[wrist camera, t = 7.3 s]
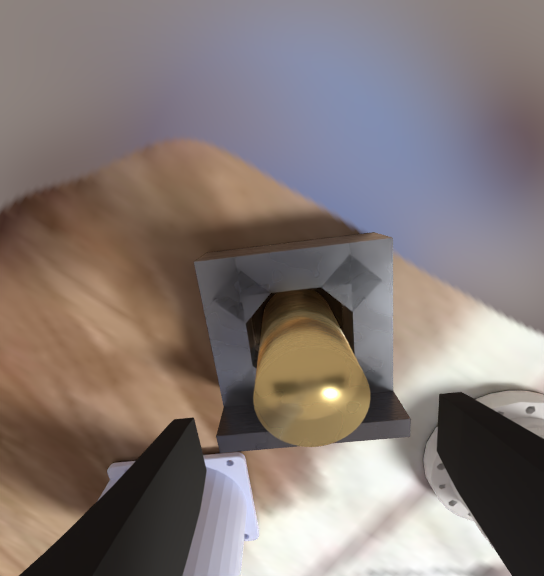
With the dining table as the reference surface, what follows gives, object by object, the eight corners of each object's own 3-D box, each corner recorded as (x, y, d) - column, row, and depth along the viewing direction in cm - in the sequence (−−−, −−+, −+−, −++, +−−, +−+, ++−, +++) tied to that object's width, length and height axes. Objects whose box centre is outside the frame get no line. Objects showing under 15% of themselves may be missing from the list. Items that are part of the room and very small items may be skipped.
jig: (233, 392, 18) (219, 453, 13) (206, 252, 15) (179, 272, 11) (376, 378, 17) (410, 436, 13) (373, 232, 15) (414, 243, 10)
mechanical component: (522, 357, 17) (391, 447, 19) (602, 408, 13) (423, 516, 15) (599, 451, 19) (472, 523, 21) (691, 521, 15) (522, 602, 17)
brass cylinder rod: (269, 355, 17) (265, 453, 10) (256, 293, 16) (242, 358, 9) (335, 344, 17) (375, 438, 10) (326, 281, 16) (364, 339, 9)
